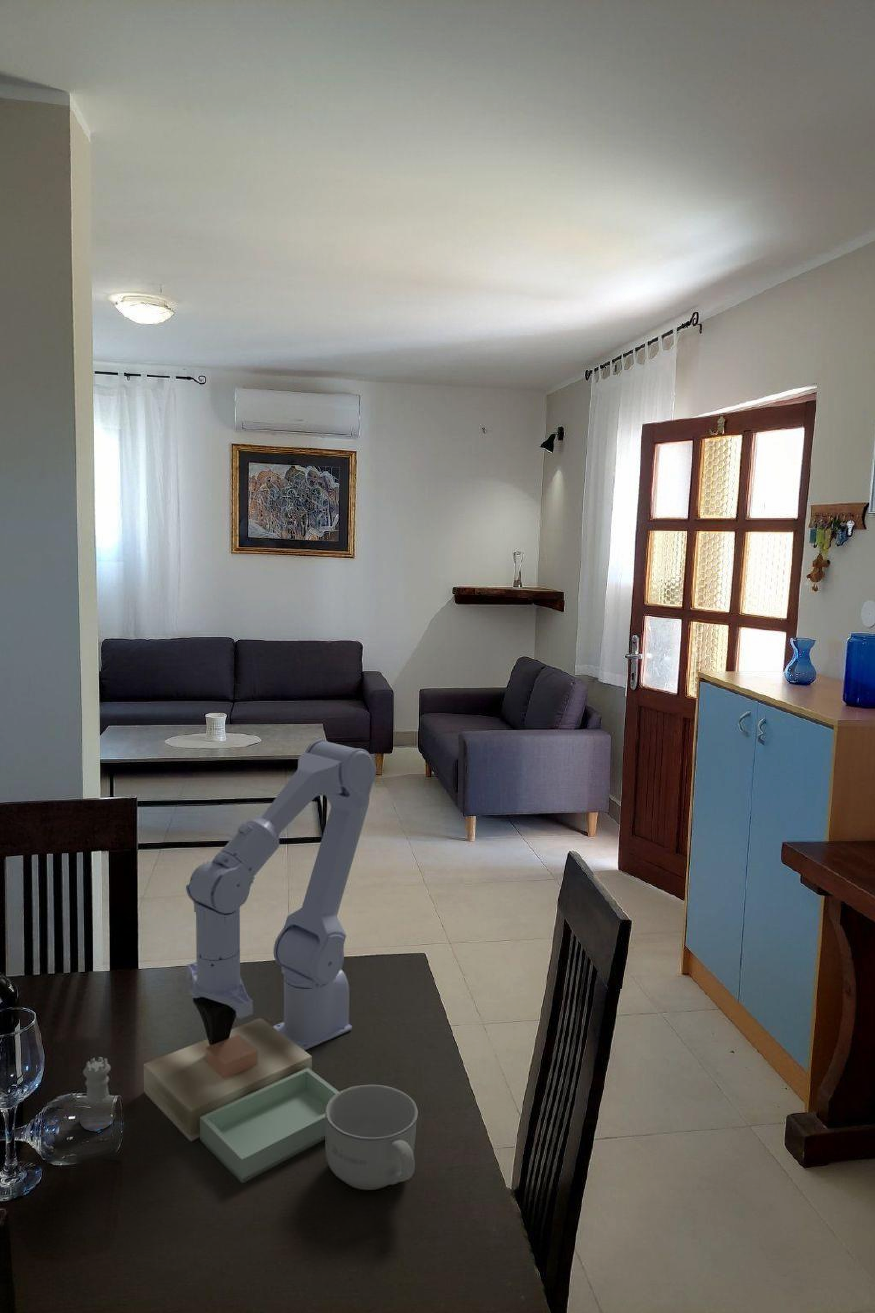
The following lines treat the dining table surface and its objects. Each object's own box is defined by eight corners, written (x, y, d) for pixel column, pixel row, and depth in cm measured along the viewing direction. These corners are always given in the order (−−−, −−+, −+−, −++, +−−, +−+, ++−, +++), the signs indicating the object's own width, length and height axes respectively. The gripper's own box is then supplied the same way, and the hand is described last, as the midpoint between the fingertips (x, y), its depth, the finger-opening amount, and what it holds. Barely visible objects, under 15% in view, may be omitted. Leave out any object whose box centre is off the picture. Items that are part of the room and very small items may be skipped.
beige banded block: (260, 1043, 130) (260, 1017, 130) (311, 1083, 121) (311, 1056, 120) (144, 1092, 118) (143, 1064, 118) (190, 1141, 109) (190, 1111, 108)
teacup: (314, 1153, 107) (314, 1091, 106) (397, 1132, 111) (398, 1072, 110) (348, 1236, 94) (349, 1167, 93) (441, 1208, 99) (443, 1142, 98)
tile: (238, 1048, 122) (238, 1034, 122) (257, 1064, 118) (257, 1050, 118) (205, 1061, 118) (205, 1047, 118) (224, 1078, 115) (224, 1064, 115)
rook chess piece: (104, 1136, 109) (102, 1075, 108) (71, 1130, 110) (70, 1070, 109) (123, 1113, 114) (122, 1055, 113) (92, 1108, 114) (91, 1050, 113)
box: (307, 1088, 120) (307, 1067, 119) (352, 1124, 113) (353, 1102, 112) (199, 1139, 109) (199, 1117, 109) (242, 1183, 102) (242, 1159, 101)
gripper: (165, 941, 122) (167, 1033, 123) (218, 980, 111) (218, 1081, 113) (212, 927, 126) (212, 1016, 128) (266, 963, 116) (266, 1060, 118)
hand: (218, 1045), depth 121 cm, fingers closed
